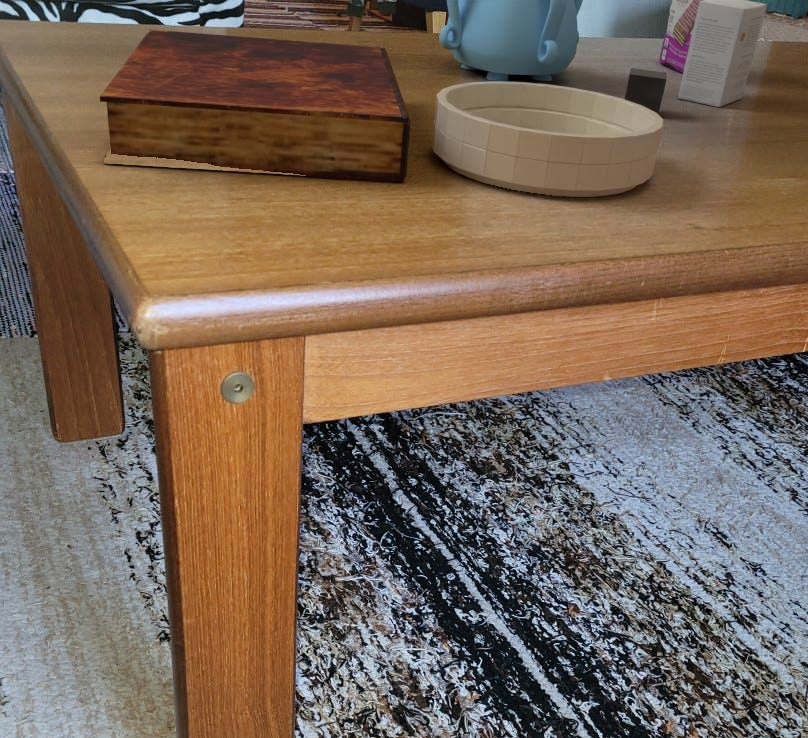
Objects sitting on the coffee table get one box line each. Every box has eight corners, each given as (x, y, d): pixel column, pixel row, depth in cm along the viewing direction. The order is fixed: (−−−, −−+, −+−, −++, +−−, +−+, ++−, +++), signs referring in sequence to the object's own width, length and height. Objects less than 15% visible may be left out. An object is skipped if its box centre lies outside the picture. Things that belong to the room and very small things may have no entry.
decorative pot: (588, 75, 126) (610, -48, 118) (547, 94, 114) (569, -42, 106) (471, 54, 131) (485, -65, 123) (420, 70, 119) (431, -61, 111)
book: (406, 182, 81) (411, 118, 78) (104, 164, 78) (97, 96, 75) (383, 99, 104) (386, 47, 102) (151, 83, 102) (148, 29, 99)
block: (658, 110, 112) (666, 72, 109) (657, 118, 109) (666, 79, 106) (623, 106, 112) (630, 67, 110) (621, 113, 109) (629, 74, 107)
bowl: (652, 155, 95) (664, 100, 92) (647, 214, 79) (661, 149, 76) (453, 126, 97) (459, 72, 95) (410, 178, 82) (415, 114, 79)
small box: (700, 90, 124) (723, -5, 118) (743, 99, 121) (768, 3, 115) (675, 98, 118) (698, -1, 112) (719, 108, 116) (745, 7, 110)
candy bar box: (655, 63, 137) (684, -75, 128) (687, 64, 139) (718, -72, 129) (696, 81, 129) (731, -66, 119) (729, 82, 130) (766, -63, 121)
